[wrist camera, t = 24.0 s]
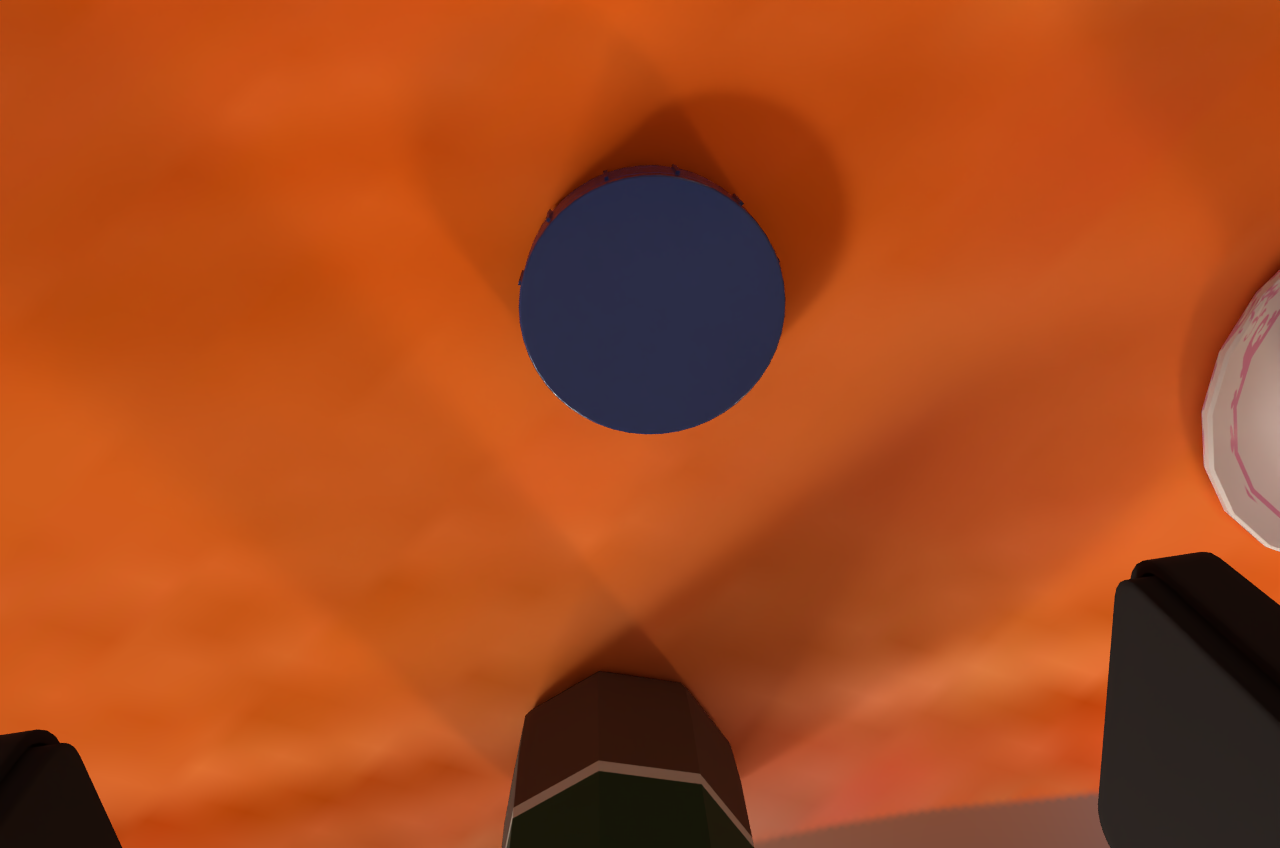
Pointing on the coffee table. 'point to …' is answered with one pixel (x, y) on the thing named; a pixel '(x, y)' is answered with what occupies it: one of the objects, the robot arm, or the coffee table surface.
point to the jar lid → (651, 300)
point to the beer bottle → (624, 771)
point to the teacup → (1248, 419)
